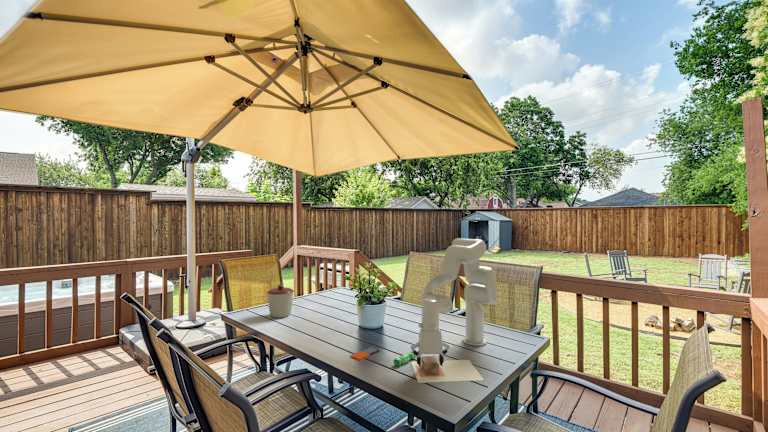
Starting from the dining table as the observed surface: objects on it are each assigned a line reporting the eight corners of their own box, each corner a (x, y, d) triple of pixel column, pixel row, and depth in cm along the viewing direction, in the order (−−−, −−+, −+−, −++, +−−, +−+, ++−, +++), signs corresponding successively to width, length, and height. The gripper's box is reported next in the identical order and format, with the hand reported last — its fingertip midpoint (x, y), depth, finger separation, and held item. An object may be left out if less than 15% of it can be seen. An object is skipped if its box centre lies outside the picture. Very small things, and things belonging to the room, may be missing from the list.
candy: (408, 355, 171) (412, 349, 169) (413, 360, 169) (416, 355, 167) (392, 363, 162) (396, 357, 160) (396, 369, 160) (400, 363, 158)
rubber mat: (410, 362, 164) (410, 361, 164) (468, 360, 167) (468, 359, 167) (418, 383, 144) (418, 382, 144) (484, 380, 147) (484, 379, 147)
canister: (273, 311, 246) (273, 281, 245) (298, 312, 243) (298, 282, 243) (261, 319, 228) (261, 287, 227) (287, 320, 225) (287, 288, 225)
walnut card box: (425, 375, 150) (425, 365, 150) (421, 366, 159) (421, 356, 159) (439, 375, 151) (439, 364, 150) (434, 365, 160) (434, 356, 159)
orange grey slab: (349, 355, 170) (370, 346, 181) (349, 358, 170) (370, 348, 181) (359, 359, 166) (380, 349, 177) (359, 362, 166) (380, 352, 177)
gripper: (412, 330, 150) (412, 369, 150) (451, 328, 152) (451, 368, 152) (409, 324, 158) (409, 361, 158) (447, 323, 159) (446, 360, 159)
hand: (430, 364), depth 155 cm, fingers open, 9 cm apart
